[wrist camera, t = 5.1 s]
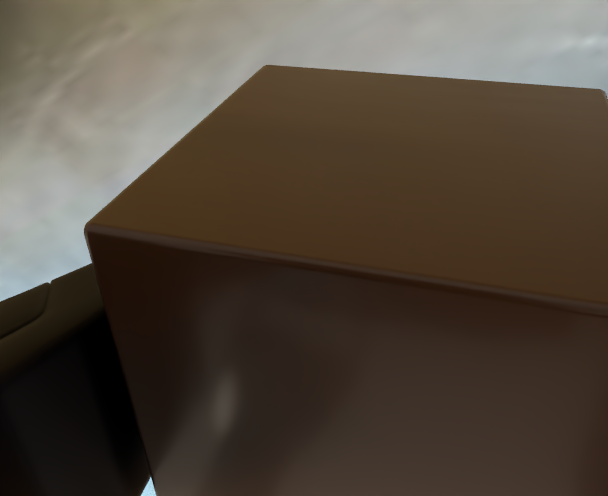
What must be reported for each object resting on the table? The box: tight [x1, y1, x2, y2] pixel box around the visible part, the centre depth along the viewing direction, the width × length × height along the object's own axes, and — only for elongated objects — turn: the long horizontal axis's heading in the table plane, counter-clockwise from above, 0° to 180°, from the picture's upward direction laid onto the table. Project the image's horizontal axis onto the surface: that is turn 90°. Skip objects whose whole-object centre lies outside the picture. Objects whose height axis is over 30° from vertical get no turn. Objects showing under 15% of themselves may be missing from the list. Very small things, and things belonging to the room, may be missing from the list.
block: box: [84, 65, 608, 496], centre depth 8 cm, size 5×5×5 cm
